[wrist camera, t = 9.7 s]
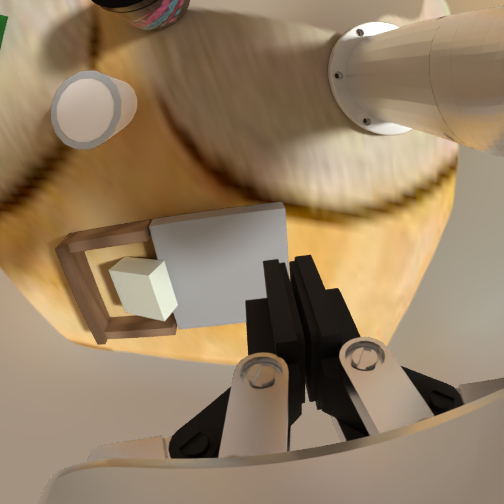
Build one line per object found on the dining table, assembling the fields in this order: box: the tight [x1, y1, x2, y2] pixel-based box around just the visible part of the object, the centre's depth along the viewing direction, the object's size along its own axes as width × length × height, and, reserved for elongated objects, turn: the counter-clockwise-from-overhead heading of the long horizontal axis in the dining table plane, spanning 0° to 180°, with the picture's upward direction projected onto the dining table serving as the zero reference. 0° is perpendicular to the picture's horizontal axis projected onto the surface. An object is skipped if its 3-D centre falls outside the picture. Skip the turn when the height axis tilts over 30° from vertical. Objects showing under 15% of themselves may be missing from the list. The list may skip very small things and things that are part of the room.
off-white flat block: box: [109, 257, 178, 321], centre depth 35 cm, size 6×6×3 cm
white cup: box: [51, 70, 137, 150], centre depth 24 cm, size 7×7×7 cm
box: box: [55, 219, 177, 344], centre depth 35 cm, size 11×14×4 cm
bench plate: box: [149, 202, 289, 329], centre depth 36 cm, size 14×14×2 cm
